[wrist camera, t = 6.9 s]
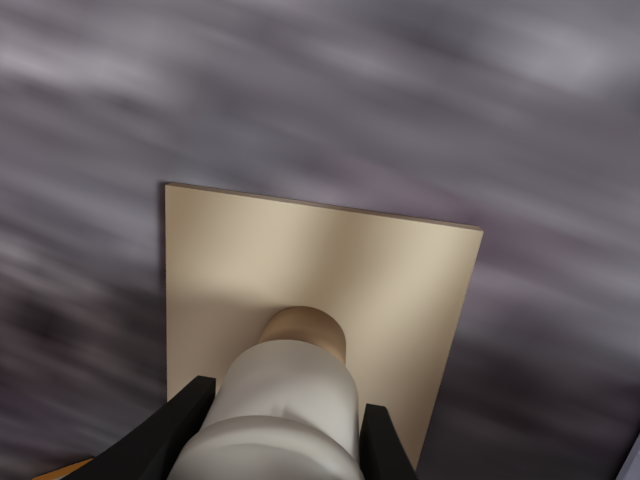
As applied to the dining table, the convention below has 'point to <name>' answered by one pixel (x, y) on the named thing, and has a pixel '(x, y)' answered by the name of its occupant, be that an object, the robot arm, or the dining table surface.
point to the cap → (278, 419)
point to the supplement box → (61, 471)
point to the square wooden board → (316, 292)
